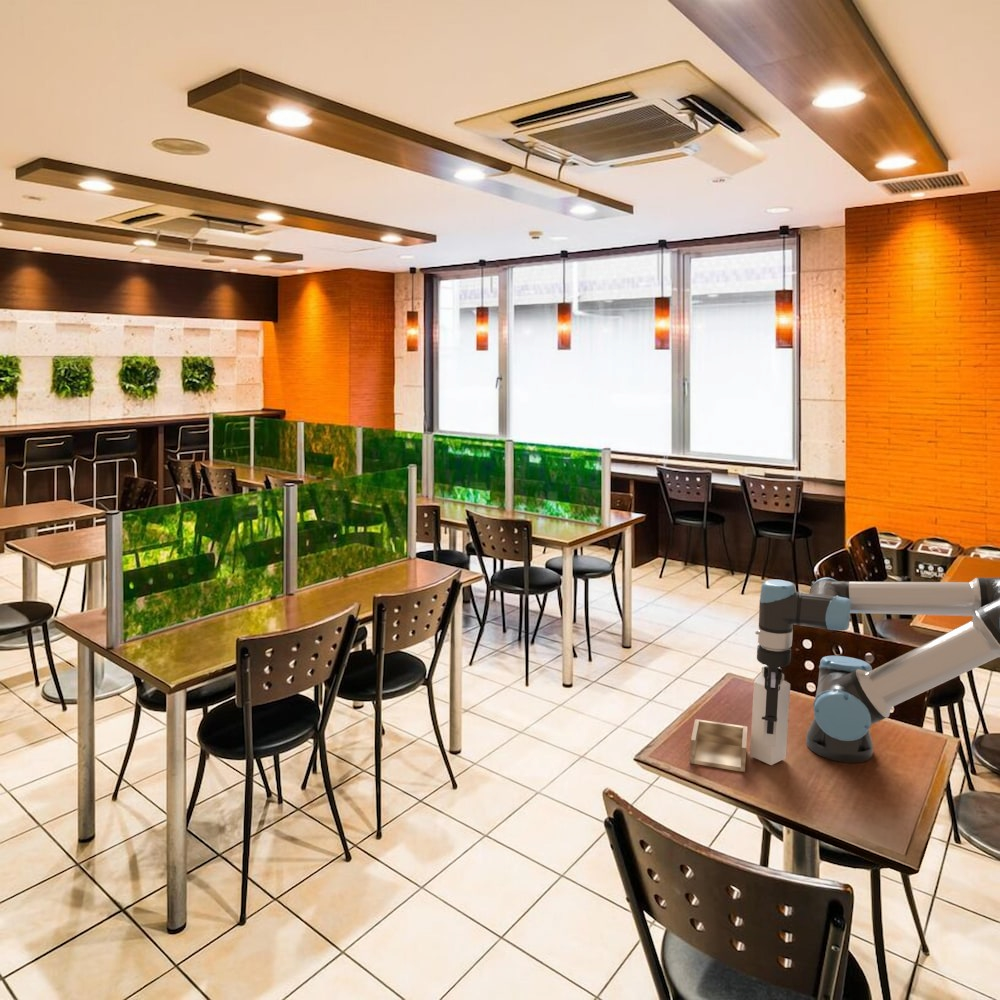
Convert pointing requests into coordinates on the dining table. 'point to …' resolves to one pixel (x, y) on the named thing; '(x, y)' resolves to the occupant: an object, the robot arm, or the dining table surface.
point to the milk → (757, 730)
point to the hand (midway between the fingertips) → (768, 736)
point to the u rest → (719, 745)
